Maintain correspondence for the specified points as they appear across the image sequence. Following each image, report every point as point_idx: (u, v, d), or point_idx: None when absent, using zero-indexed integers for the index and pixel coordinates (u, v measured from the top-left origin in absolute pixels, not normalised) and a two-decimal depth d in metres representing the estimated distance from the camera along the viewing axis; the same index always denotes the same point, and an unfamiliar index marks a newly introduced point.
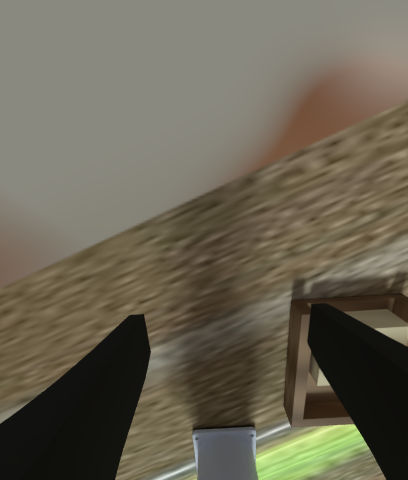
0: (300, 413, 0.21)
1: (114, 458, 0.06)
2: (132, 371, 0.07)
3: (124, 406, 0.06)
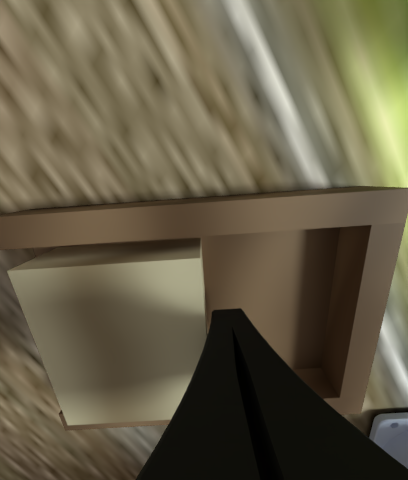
0: None
1: None
2: None
3: None
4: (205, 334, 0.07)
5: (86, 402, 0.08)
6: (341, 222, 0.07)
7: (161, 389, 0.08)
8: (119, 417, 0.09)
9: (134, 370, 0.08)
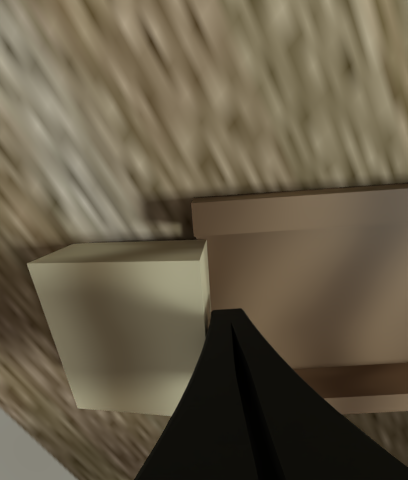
0: None
1: None
2: None
3: None
4: (204, 336, 0.07)
5: (93, 389, 0.09)
6: None
7: (162, 385, 0.08)
8: (123, 407, 0.09)
9: (137, 364, 0.08)
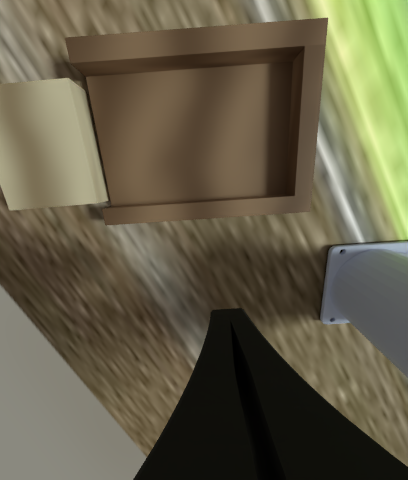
0: (280, 201, 0.14)
1: None
2: None
3: None
4: (81, 134, 0.13)
5: (18, 190, 0.14)
6: (286, 43, 0.11)
7: (62, 178, 0.14)
8: (40, 203, 0.14)
9: (44, 162, 0.13)
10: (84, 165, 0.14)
